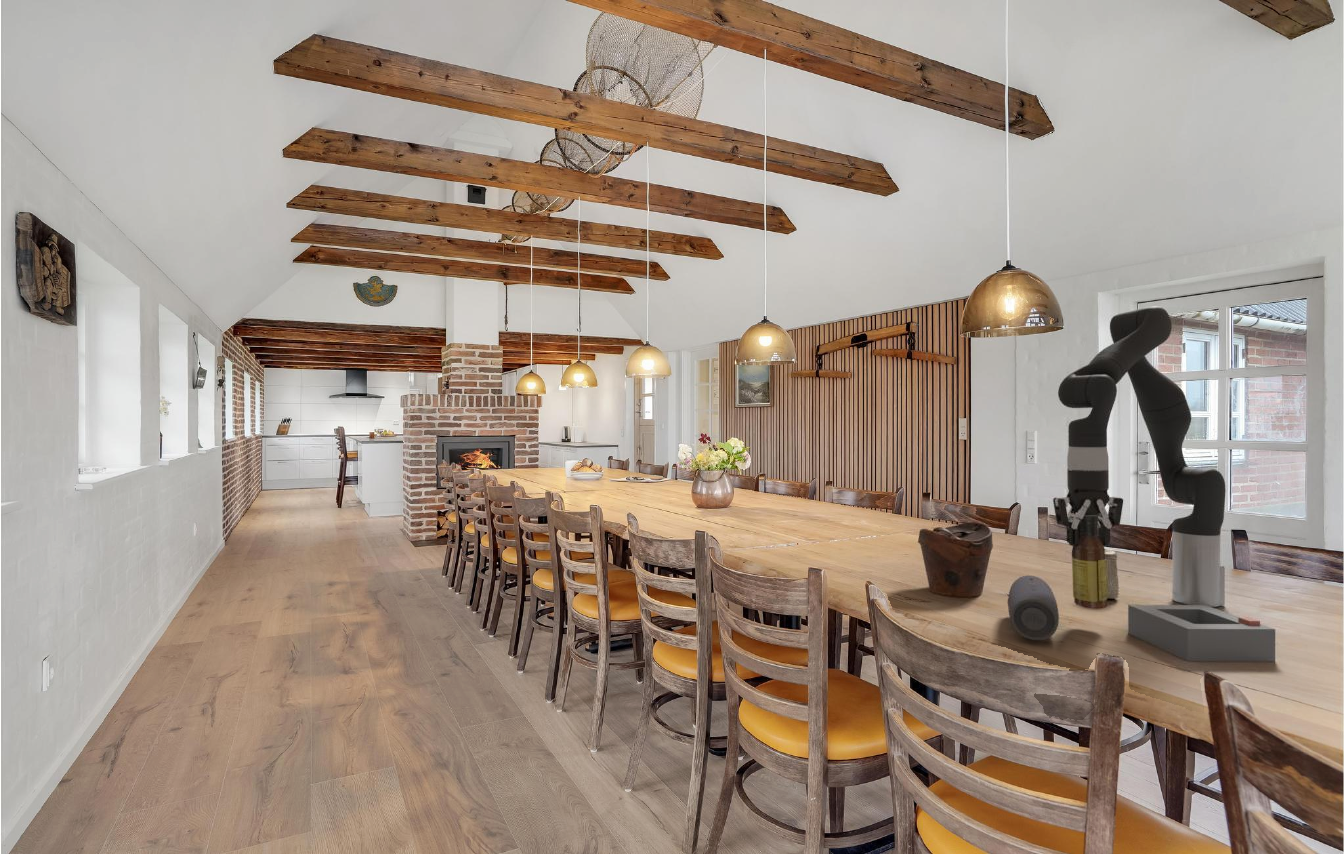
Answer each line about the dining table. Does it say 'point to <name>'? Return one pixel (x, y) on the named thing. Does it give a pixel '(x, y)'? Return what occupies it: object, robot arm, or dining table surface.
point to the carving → (1111, 574)
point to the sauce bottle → (1089, 566)
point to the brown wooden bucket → (956, 558)
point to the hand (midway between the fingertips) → (1088, 545)
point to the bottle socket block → (1202, 633)
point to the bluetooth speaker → (1033, 608)
